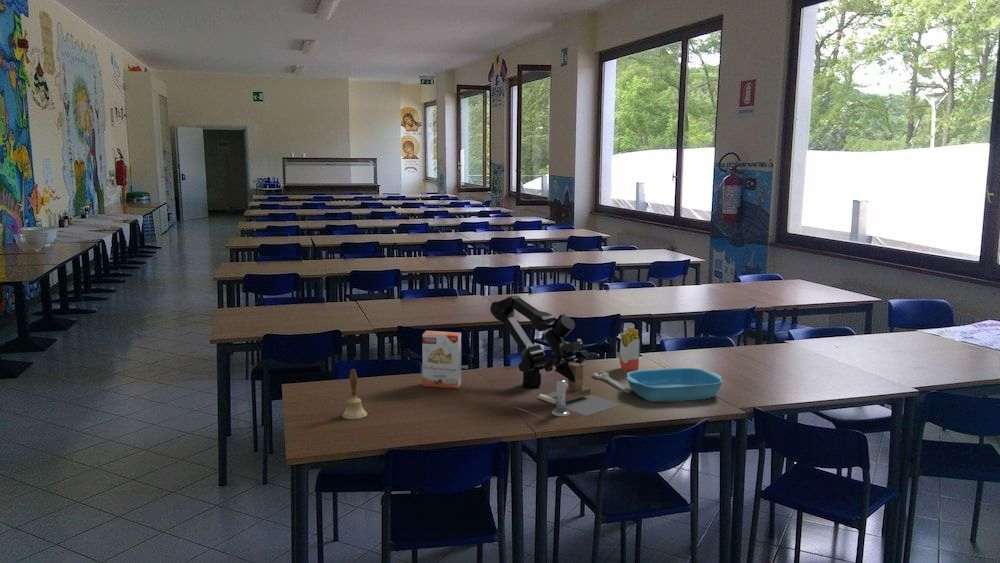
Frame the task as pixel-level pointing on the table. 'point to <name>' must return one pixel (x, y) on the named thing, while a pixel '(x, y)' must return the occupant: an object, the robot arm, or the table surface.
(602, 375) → the adjustable wrench
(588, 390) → the wooden block on base
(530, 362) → the robot arm
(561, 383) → the grey metal stick
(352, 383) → the hand bell
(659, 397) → the casserole dish
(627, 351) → the french fries container
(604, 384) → the table surface
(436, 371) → the cracker box
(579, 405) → the mat
